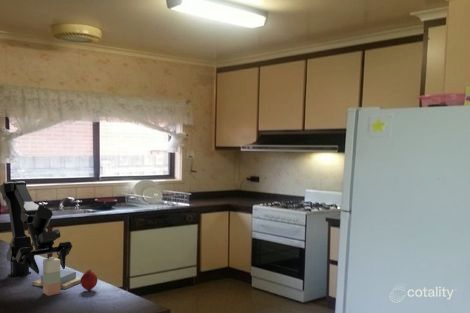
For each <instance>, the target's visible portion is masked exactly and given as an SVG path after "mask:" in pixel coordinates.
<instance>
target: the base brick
mask: <svg viewBox="0 0 470 313" xmlns="http://www.w3.org/2000/svg"><path fill="white" fill-rule="evenodd" d="M76 277H77V271H74V270H73V271H71V270H65V269H62V270H61V269H60V284H62V283H65V282H67V281H70V280H72V279H74V278H76ZM40 279H41V282H43V274H41V275H40Z"/></svg>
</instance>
